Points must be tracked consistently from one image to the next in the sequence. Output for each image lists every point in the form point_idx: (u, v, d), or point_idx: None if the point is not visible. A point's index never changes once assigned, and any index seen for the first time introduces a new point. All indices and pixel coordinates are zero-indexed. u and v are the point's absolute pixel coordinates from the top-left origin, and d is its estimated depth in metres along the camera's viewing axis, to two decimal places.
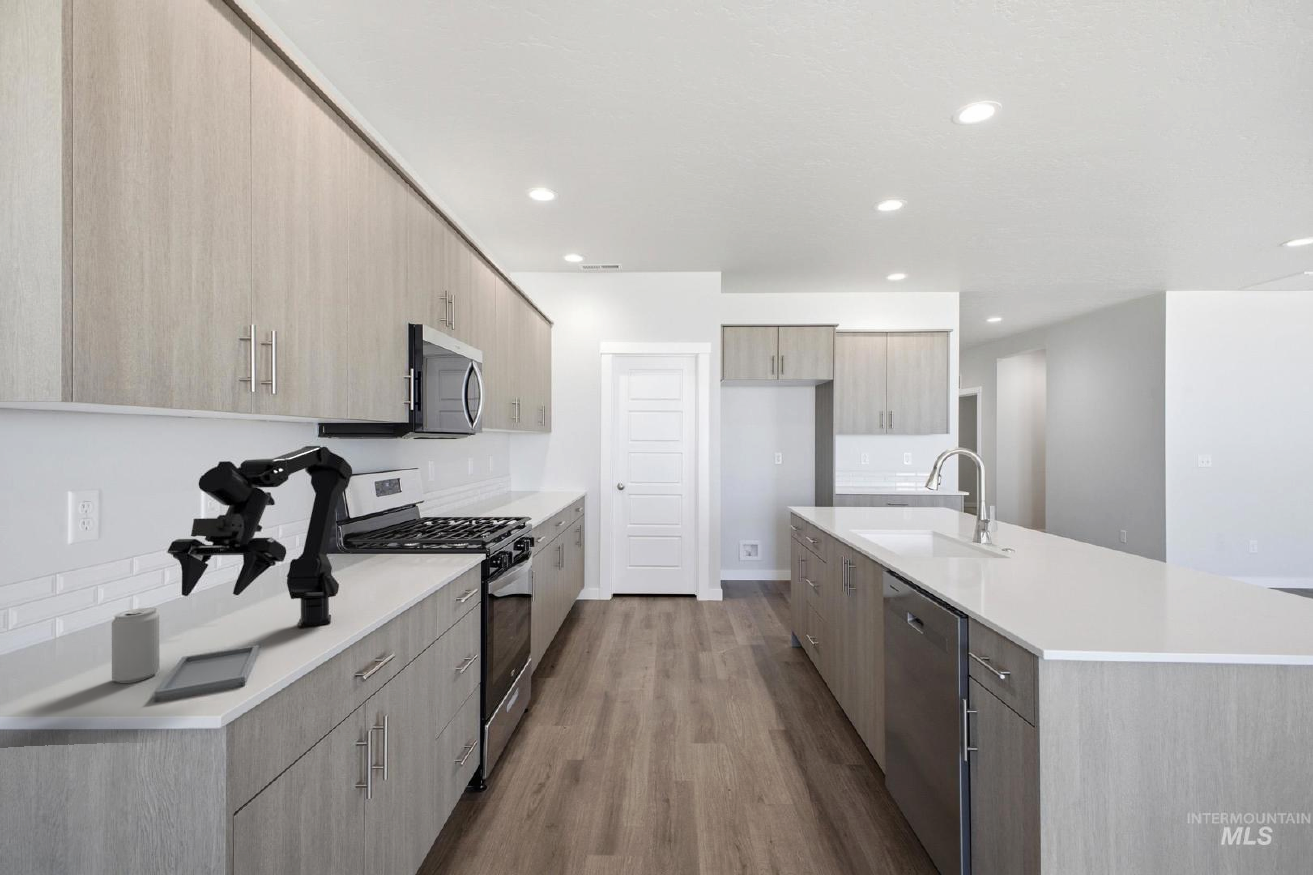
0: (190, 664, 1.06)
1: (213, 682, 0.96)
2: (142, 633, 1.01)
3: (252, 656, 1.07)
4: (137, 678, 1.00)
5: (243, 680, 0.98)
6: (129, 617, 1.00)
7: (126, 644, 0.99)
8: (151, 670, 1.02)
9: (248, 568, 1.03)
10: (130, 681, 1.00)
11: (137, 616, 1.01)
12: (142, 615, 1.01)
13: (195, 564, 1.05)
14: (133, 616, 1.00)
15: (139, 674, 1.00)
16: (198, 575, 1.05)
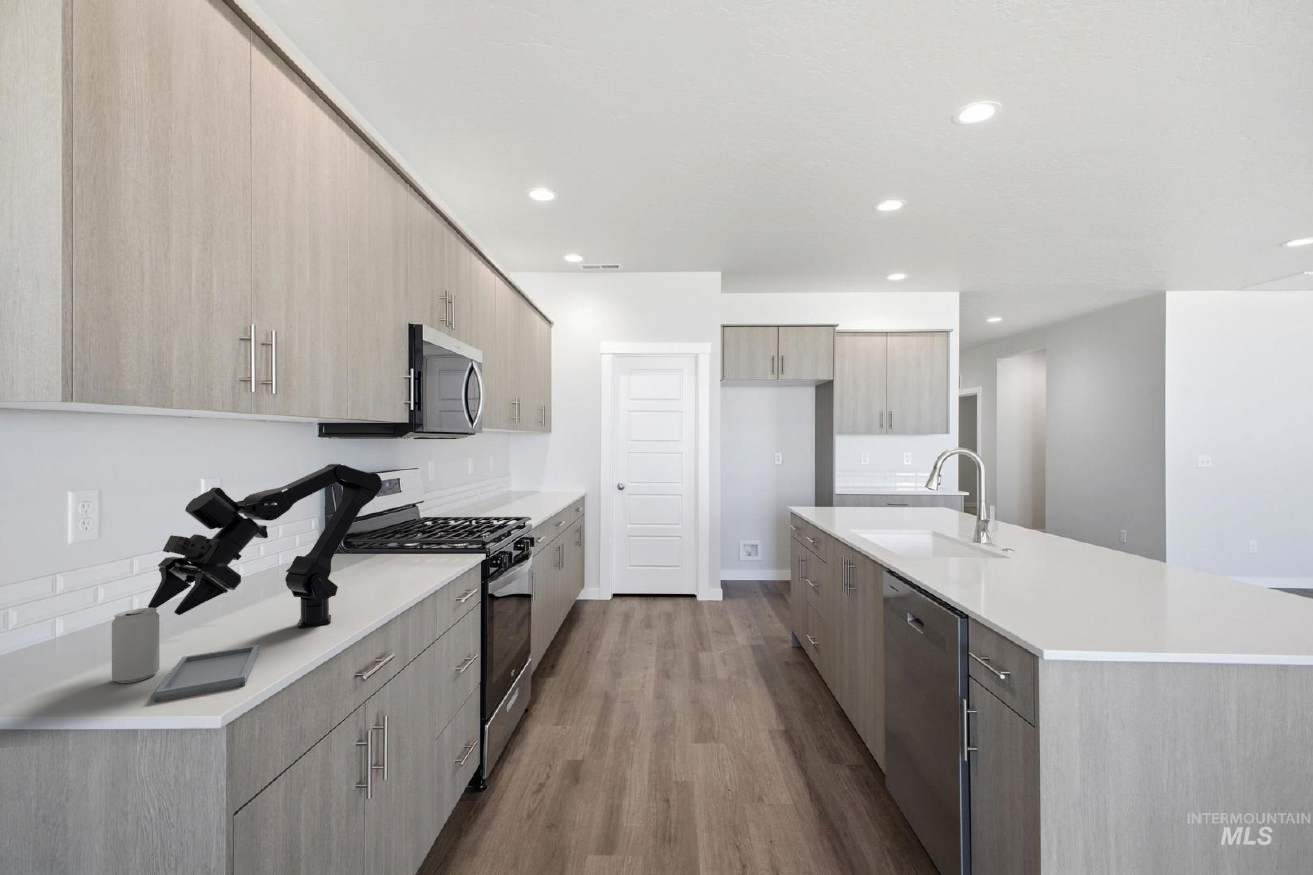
0: (190, 664, 1.06)
1: (213, 682, 0.96)
2: (142, 633, 1.01)
3: (252, 656, 1.07)
4: (137, 678, 1.00)
5: (243, 680, 0.98)
6: (129, 617, 1.00)
7: (126, 644, 0.99)
8: (151, 670, 1.02)
9: (195, 589, 1.06)
10: (130, 681, 1.00)
11: (137, 616, 1.01)
12: (142, 615, 1.01)
13: (174, 581, 1.12)
14: (133, 616, 1.00)
15: (139, 674, 1.00)
16: (173, 592, 1.12)
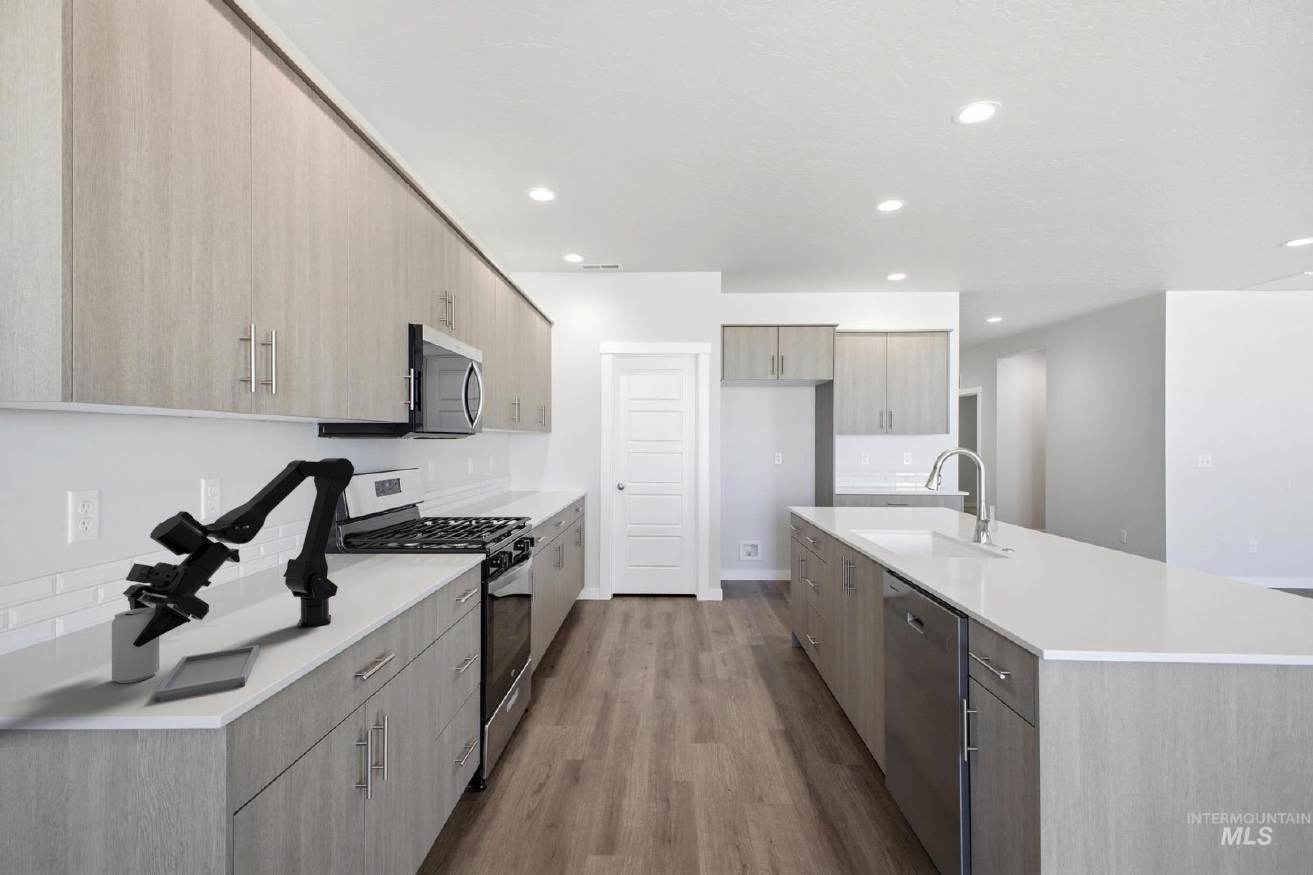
0: (190, 664, 1.06)
1: (213, 682, 0.96)
2: None
3: (252, 656, 1.07)
4: (137, 678, 1.00)
5: (243, 680, 0.98)
6: (129, 617, 1.00)
7: (126, 644, 0.99)
8: (151, 670, 1.02)
9: (155, 620, 1.01)
10: (130, 680, 1.00)
11: (137, 616, 1.01)
12: (142, 615, 1.01)
13: None
14: (133, 616, 1.00)
15: (139, 674, 1.00)
16: None
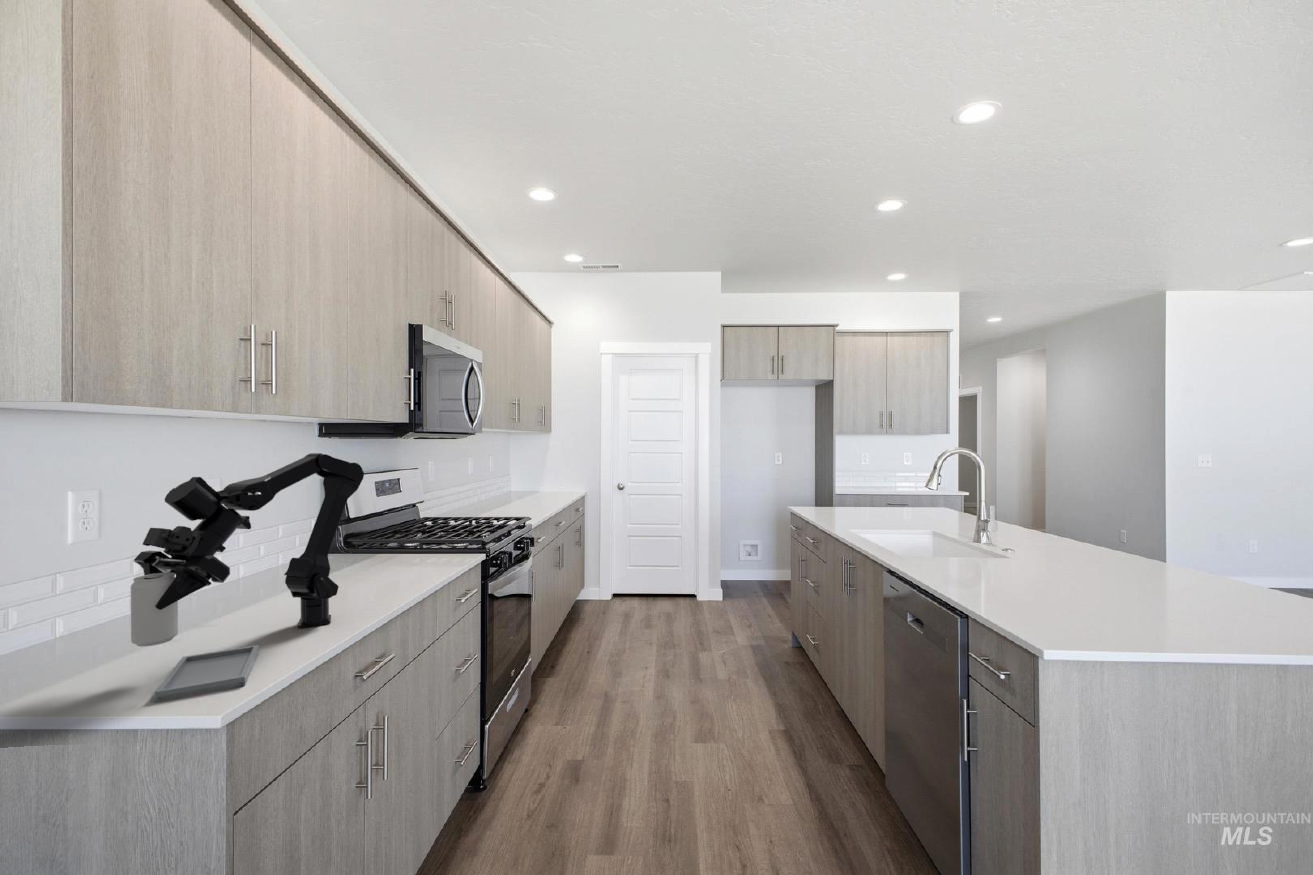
0: (190, 664, 1.06)
1: (213, 682, 0.96)
2: None
3: (252, 656, 1.07)
4: (159, 641, 1.00)
5: (243, 680, 0.98)
6: (150, 580, 1.00)
7: (148, 607, 0.99)
8: (172, 634, 1.02)
9: (176, 583, 1.02)
10: (151, 644, 1.00)
11: (158, 579, 1.01)
12: (163, 578, 1.01)
13: None
14: (154, 579, 1.00)
15: (161, 637, 1.00)
16: None
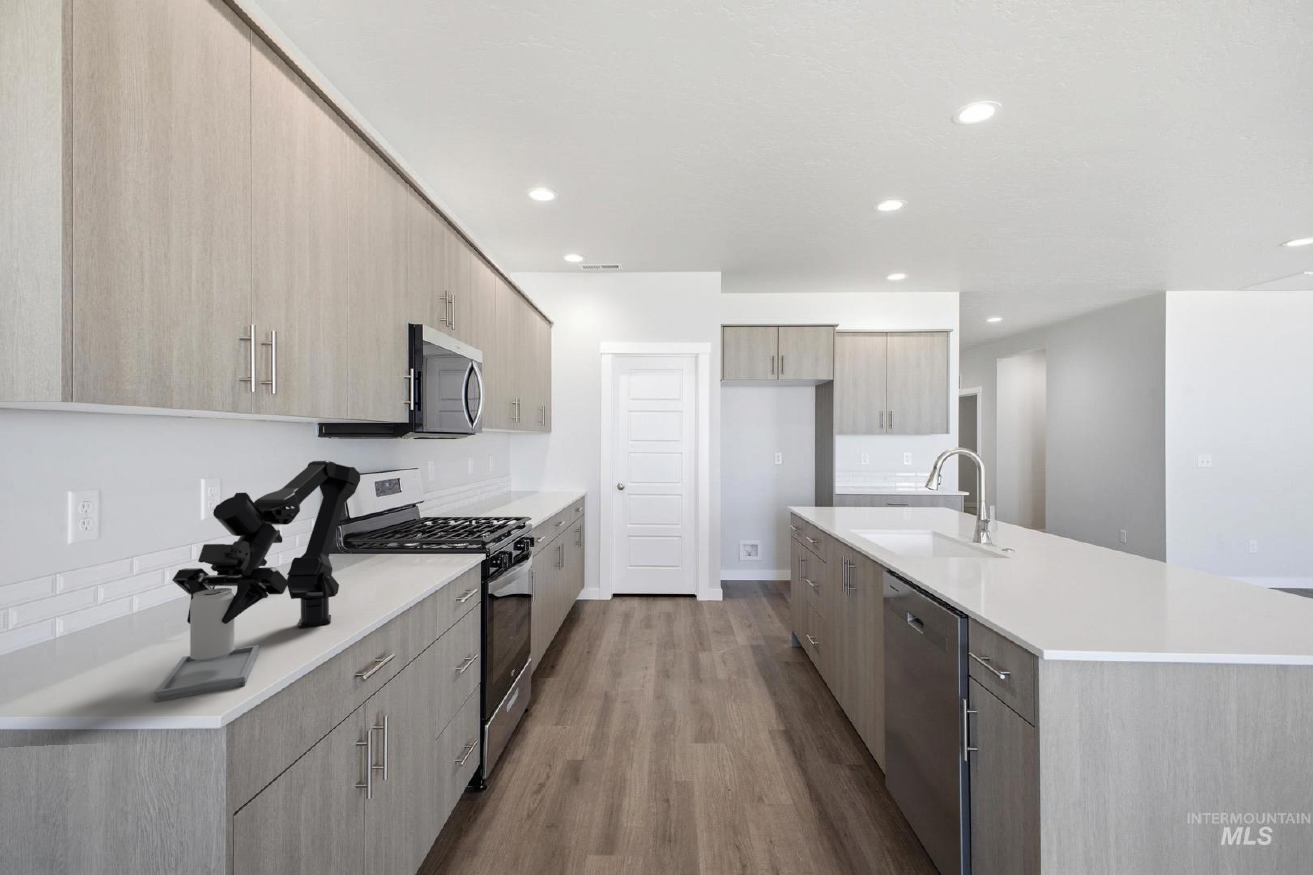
0: (190, 664, 1.06)
1: (213, 682, 0.96)
2: None
3: (252, 656, 1.07)
4: (224, 655, 1.02)
5: (243, 680, 0.98)
6: (216, 595, 1.01)
7: (214, 622, 1.01)
8: (233, 647, 1.04)
9: (240, 596, 1.04)
10: (216, 658, 1.01)
11: (223, 594, 1.02)
12: (226, 593, 1.03)
13: None
14: (219, 594, 1.02)
15: (226, 651, 1.02)
16: None
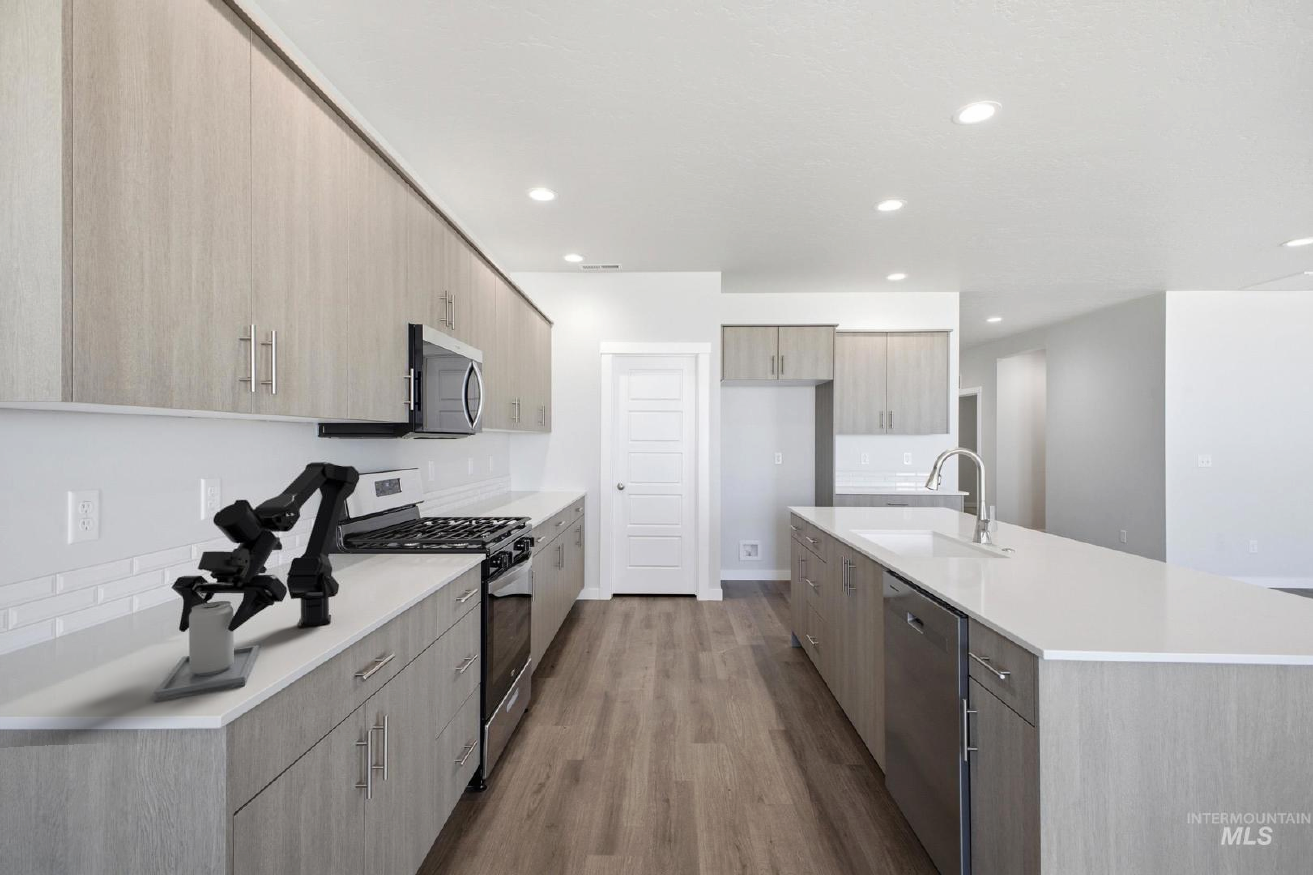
0: None
1: (213, 682, 0.96)
2: (227, 624, 1.03)
3: (252, 656, 1.07)
4: (223, 668, 1.02)
5: (243, 680, 0.98)
6: (215, 609, 1.01)
7: (214, 635, 1.01)
8: (232, 660, 1.04)
9: (247, 604, 1.04)
10: (216, 671, 1.01)
11: (222, 607, 1.02)
12: (225, 606, 1.03)
13: (197, 601, 1.06)
14: (218, 608, 1.02)
15: (225, 664, 1.02)
16: None
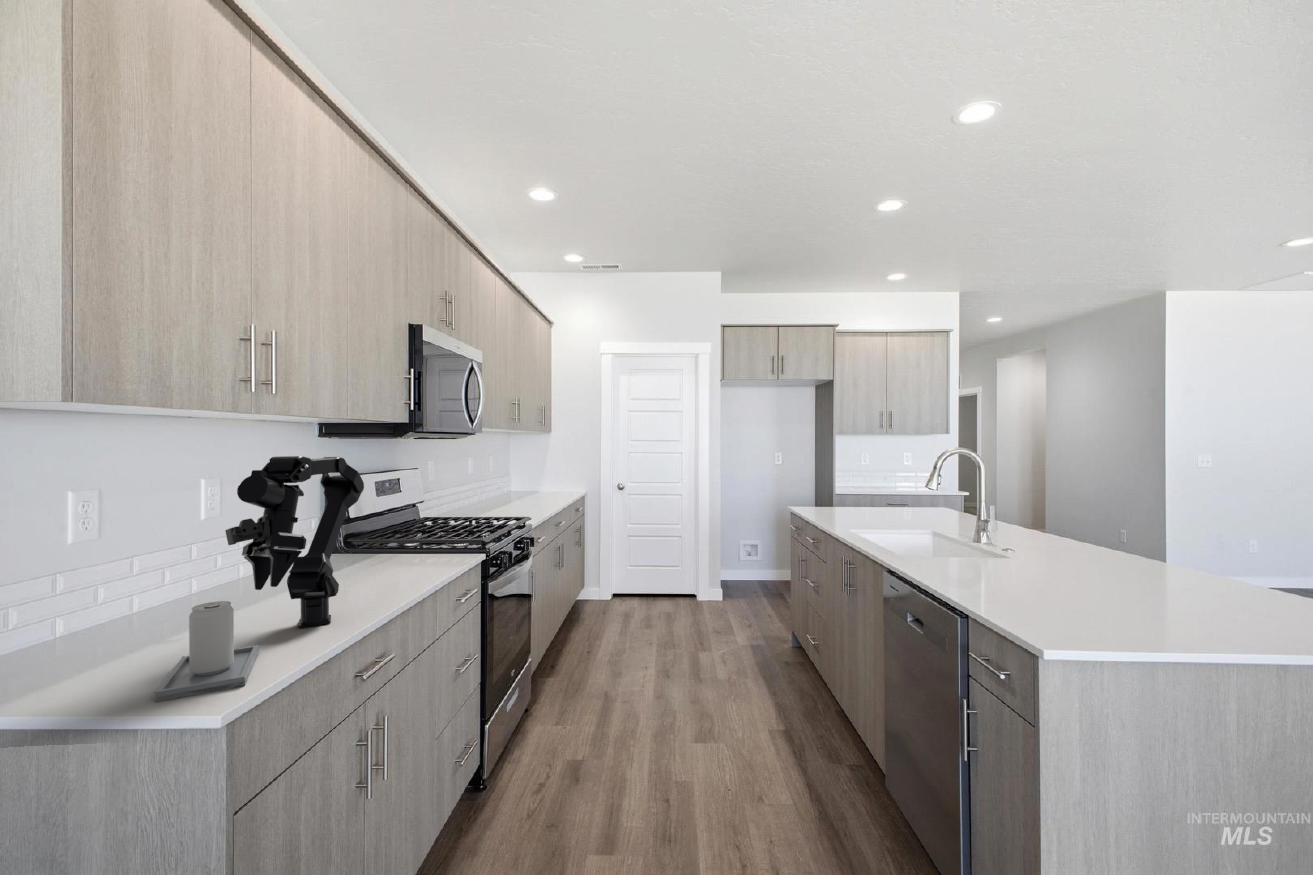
0: None
1: (213, 682, 0.96)
2: (227, 624, 1.03)
3: (252, 656, 1.07)
4: (223, 668, 1.02)
5: (243, 680, 0.98)
6: (215, 609, 1.01)
7: (214, 635, 1.01)
8: (232, 660, 1.04)
9: (273, 563, 1.12)
10: (216, 671, 1.01)
11: (222, 607, 1.02)
12: (225, 606, 1.03)
13: (262, 561, 1.20)
14: (218, 608, 1.02)
15: (225, 664, 1.02)
16: (268, 569, 1.20)
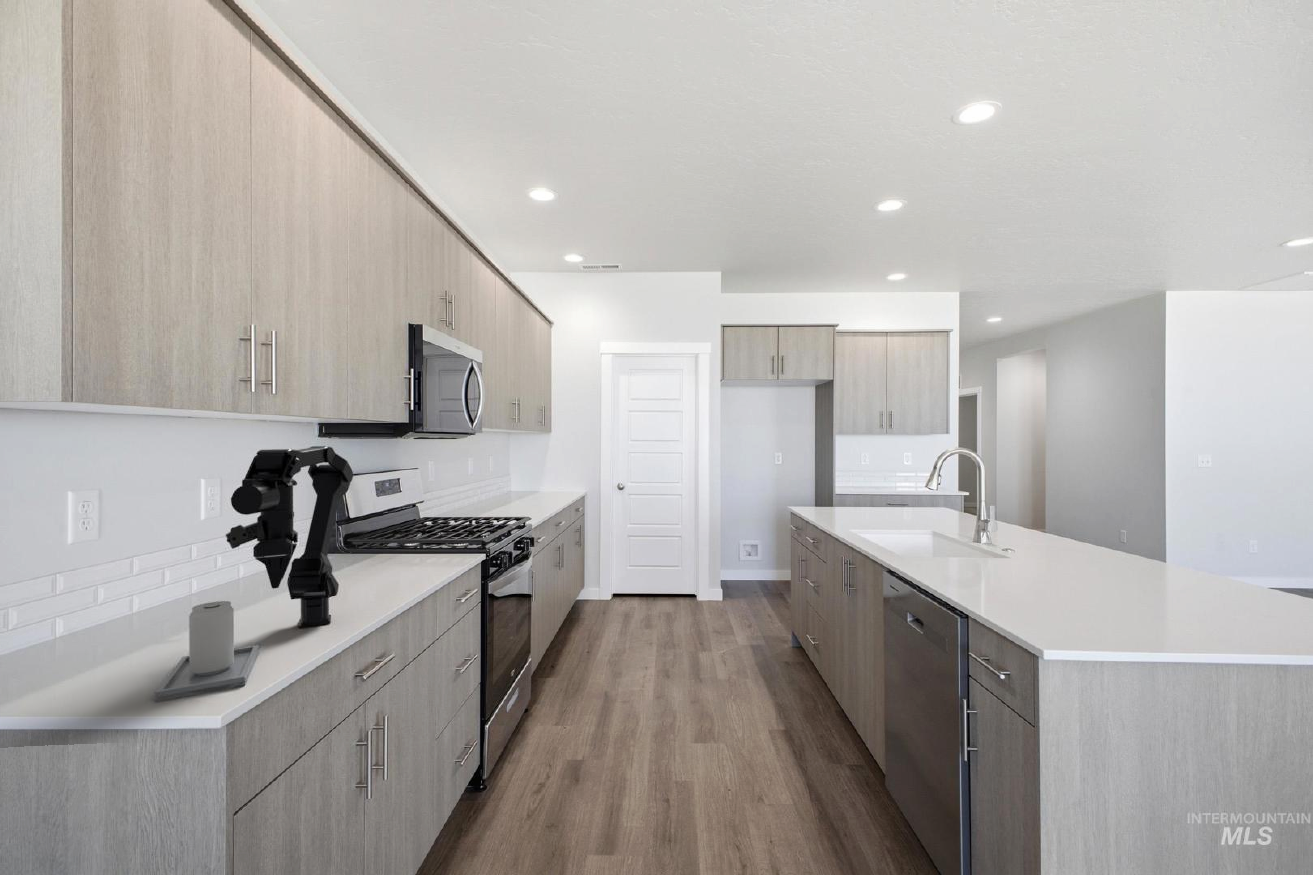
0: None
1: (213, 682, 0.96)
2: (227, 624, 1.03)
3: (252, 656, 1.07)
4: (223, 668, 1.02)
5: (243, 680, 0.98)
6: (215, 609, 1.01)
7: (214, 635, 1.01)
8: (232, 660, 1.04)
9: (266, 568, 1.12)
10: (216, 671, 1.01)
11: (222, 607, 1.02)
12: (225, 606, 1.03)
13: None
14: (218, 608, 1.02)
15: (225, 664, 1.02)
16: None
